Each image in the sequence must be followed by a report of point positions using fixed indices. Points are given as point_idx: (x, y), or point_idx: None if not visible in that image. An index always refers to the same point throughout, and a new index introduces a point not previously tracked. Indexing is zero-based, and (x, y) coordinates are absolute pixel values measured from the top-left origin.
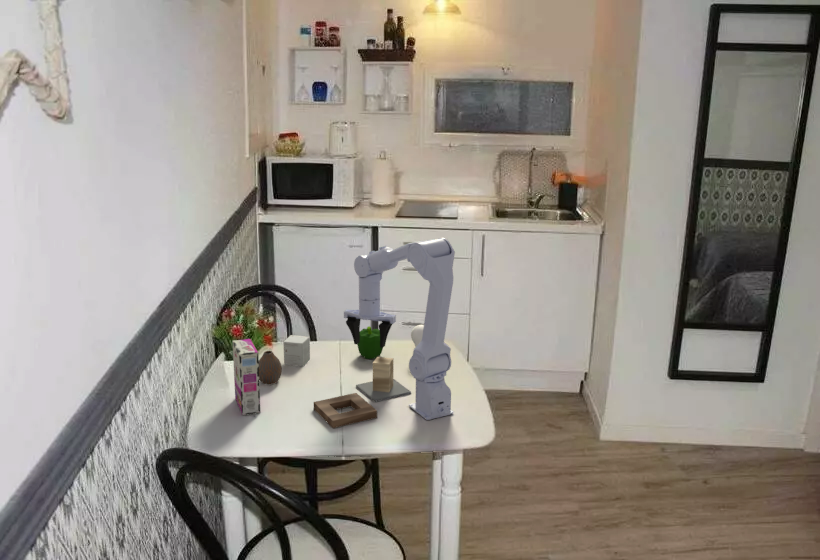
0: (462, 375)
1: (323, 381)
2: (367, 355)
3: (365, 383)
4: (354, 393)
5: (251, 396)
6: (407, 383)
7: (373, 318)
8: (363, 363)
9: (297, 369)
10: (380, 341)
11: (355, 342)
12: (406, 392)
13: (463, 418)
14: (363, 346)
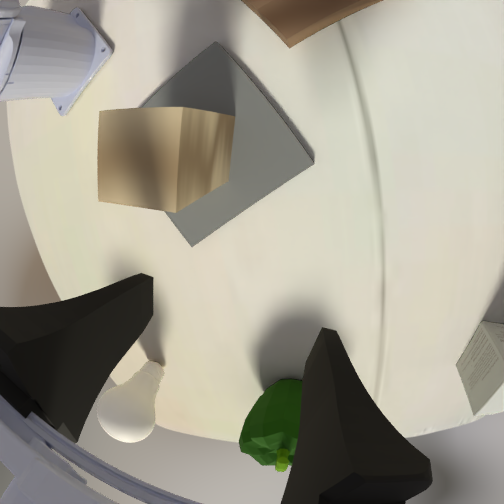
0: (57, 276)
1: (439, 211)
2: (296, 385)
3: (277, 180)
4: (292, 31)
5: None
6: (141, 216)
7: (18, 450)
8: None
9: (497, 300)
10: (123, 291)
11: (330, 334)
12: None
13: None
14: None
